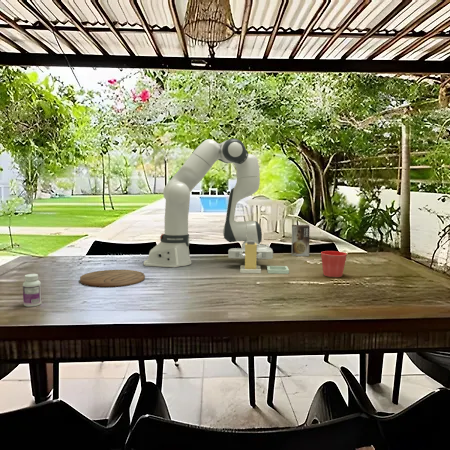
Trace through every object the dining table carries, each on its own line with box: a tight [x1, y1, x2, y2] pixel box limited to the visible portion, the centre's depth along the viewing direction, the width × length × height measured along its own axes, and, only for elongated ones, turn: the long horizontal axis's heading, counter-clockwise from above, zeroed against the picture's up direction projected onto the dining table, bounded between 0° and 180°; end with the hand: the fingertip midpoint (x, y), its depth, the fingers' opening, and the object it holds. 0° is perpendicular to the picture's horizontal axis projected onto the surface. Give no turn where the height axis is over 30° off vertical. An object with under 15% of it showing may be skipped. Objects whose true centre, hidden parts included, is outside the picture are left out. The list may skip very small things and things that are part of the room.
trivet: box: [79, 269, 146, 288], centre depth 176 cm, size 25×25×2 cm
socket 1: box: [239, 264, 262, 274], centre depth 195 cm, size 9×9×2 cm
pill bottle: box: [22, 273, 43, 308], centre depth 140 cm, size 5×5×10 cm
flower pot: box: [320, 250, 348, 278], centre depth 187 cm, size 11×11×10 cm
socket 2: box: [266, 265, 290, 275], centre depth 194 cm, size 9×9×2 cm
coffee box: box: [291, 224, 311, 257], centre depth 236 cm, size 9×6×16 cm
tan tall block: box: [244, 241, 257, 269], centre depth 194 cm, size 5×5×13 cm
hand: (250, 256), depth 193 cm, fingers closed on tan tall block, 5 cm apart
